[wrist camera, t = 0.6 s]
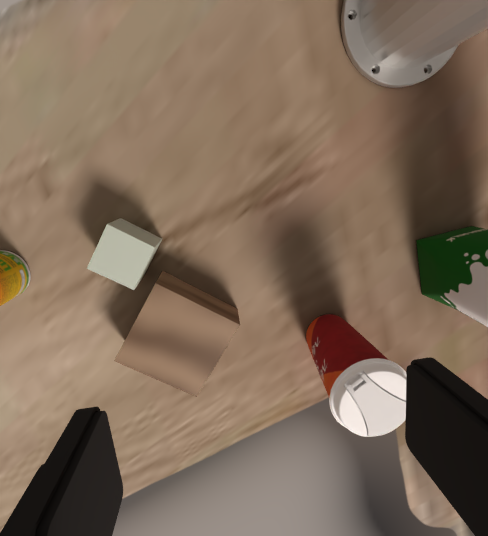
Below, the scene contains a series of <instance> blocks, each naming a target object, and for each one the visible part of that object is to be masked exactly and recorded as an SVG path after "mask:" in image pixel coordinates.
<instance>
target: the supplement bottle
mask: <svg viewBox="0 0 488 536" xmlns="http://www.w3.org/2000/svg"><path fill="white" fill-rule="evenodd" d="M29 282H30V270H29V268H28V265H27V264H26V262H25V261H24V260H23V259H22V258H21V257H20V256H18V255H17V254H15V253H13V252H10V251H4V250H0V306H1V305H3V304H4V303H6V302H8V301H9V300H11V299H12V298H14V297H16V296H18V295H19V294H21V293H22V292H23V291H25V290H26V288H27V287H28V285H29Z"/></svg>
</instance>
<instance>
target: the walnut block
mask: <svg viewBox="0 0 488 536" xmlns="http://www.w3.org/2000/svg"><path fill="white" fill-rule="evenodd" d="M239 326H240V322H239V315H238V309H237V308H235V307H233V306H231V305H229V304H227V303H225V302H223V301H221V300H219V299H217V298H215V297H213V296H211V295H209V294H207V293H205V292H203V291H201V290H199V289H197V288H195V287H193V286H191V285H189V284H187V283H185V282H184V281H182V280H180V279H178V278H176V277H174V276H172V275H170V274H168V273H166V272H164V271H162V272H161V274H160V276H159V278H158V280H157V281H156V283H155V285H154V287H153V289H152V291H151V293H150V295H149V296H148V298H147V300H146V302H145V304H144V306H143V308H142V310H141V311H140V313H139V315H138V317H137V319H136V321H135V323H134V325H133V326H132V328H131V330H130V332H129V334H128V336H127V338H126V339H125V341H124V343H123V345H122V347H121V349H120V351H119V353H118V354H117V356H116V358H115V360H114V361H116V362H118V363H120V364H122V365H125V366H127V367H129V368H132V369H134V370H136V371H139V372H141V373H143V374H145V375H148V376H150V377H152V378H155V379H157V380H159V381H161V382H164V383H166V384H168V385H171V386H173V387H175V388H178V389H180V390H182V391H184V392H187V393H189V394H191V395H194V396H196V397H197V395H198V394H199V392H200V390H201V389H202V387H203V386H204V384H205V382H206V381H207V379H208V377H209V376H210V374H211V372H212V371H213V369H214V367H215V366H216V364H217V362H218V361H219V359H220V357H221V356H222V354H223V352H224V351H225V349H226V347H227V346H228V344H229V343H230V341H231V339H232V338H233V336H234V334H235V333H236V331H237V329H238V328H239Z"/></svg>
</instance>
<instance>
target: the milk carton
mask: <svg viewBox="0 0 488 536" xmlns="http://www.w3.org/2000/svg"><path fill="white" fill-rule="evenodd" d="M416 242H417V252H418V262H419V271H420V281H421V290H422V294H423V295H425V296H427V297H430V298H432V299H434V300H436V301H439V302H441V303H443V304H445V305H447V306H450V307H452V308H454V309H456V310H458V311H460V312H462V313H464V314H465V315H467V316H469V317H471V318H473V319H474V320H476V321H478V322H480V323H481V324H483V325H485V326H487V327H488V230H487V229H483V228H478V227H474V226H470V227H466V228H462V229H458V230H454V231H450V232H446V233H443V234H439V235H435V236H431V237H427V238H423V239H419V240H416Z"/></svg>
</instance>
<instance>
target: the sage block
mask: <svg viewBox="0 0 488 536" xmlns="http://www.w3.org/2000/svg"><path fill="white" fill-rule="evenodd" d="M161 241H162V238H160V237H158V236H156V235H154V234H152V233H150V232H148V231H146V230H144V229H142V228H140V227H138V226H136V225H134V224H132V223H130V222H128V221H126V220H124V219H122V218H119V219H117V220H115V221H113V222H110V223H108V224H107V225H106V227H105V230H104V232H103V234H102V236H101V238H100V241H99V243H98V245H97V247H96V249H95V252H94V254H93V256H92V258H91V260H90V263H89V265H88V267H87V269H89V270H91V271H93V272H96V273H98V274H100V275H102V276H104V277H106V278H109V279H111V280H113V281H115V282H117V283H119V284H122V285H124V286H126V287H128V288H130V289H132V290H134V289H135V288H136V287H137V285H138V284H139V282H140V281H141V280H142V278H143V277H144V275H145V273H146V271H147V269H148V267H149V265H150V263H151V261H152V259H153V257H154V255H155V253H156V251H157V249H158V247H159V245H160V243H161Z"/></svg>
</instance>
